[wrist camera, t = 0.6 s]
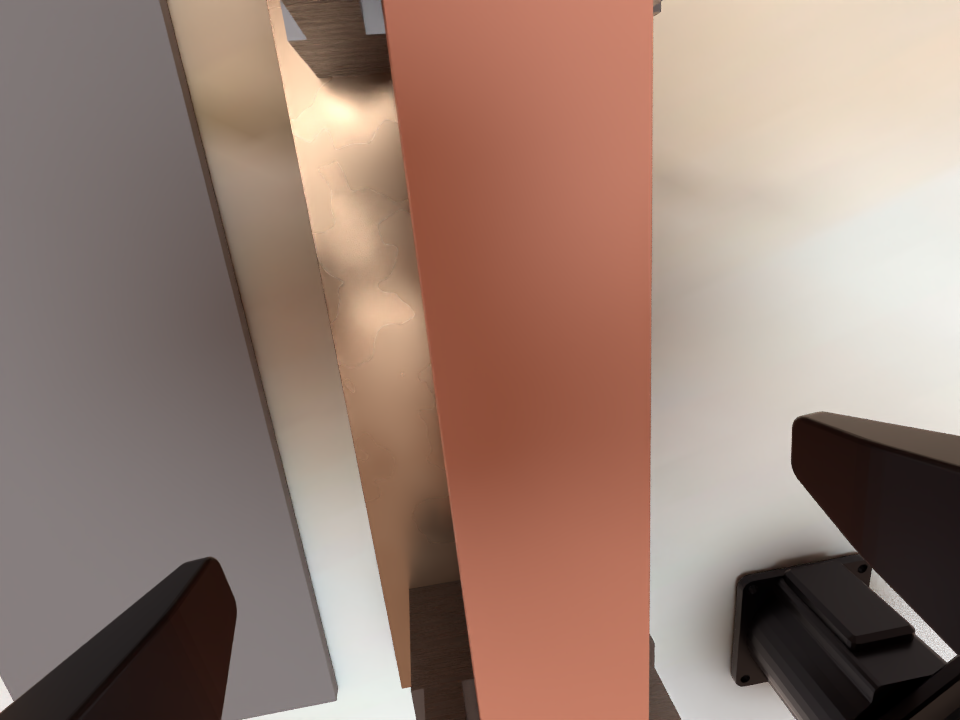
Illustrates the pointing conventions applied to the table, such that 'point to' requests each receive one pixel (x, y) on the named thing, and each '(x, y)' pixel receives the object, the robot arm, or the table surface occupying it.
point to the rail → (538, 332)
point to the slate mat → (130, 363)
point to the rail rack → (384, 336)
